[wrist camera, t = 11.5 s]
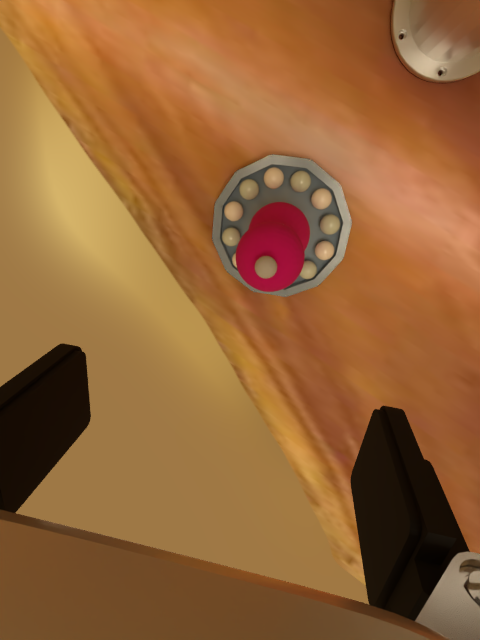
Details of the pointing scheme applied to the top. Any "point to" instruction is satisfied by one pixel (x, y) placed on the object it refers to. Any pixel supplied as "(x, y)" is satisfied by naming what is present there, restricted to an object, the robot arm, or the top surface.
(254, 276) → the pepper mill
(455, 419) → the top surface
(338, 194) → the bead tray
